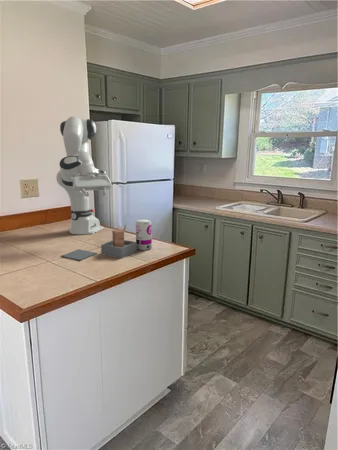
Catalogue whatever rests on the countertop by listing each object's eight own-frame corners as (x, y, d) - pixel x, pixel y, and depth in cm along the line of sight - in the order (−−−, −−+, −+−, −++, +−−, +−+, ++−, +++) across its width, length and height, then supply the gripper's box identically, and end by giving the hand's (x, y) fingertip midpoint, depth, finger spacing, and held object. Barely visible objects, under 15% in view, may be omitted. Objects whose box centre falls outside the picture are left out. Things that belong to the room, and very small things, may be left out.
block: (112, 245, 168) (112, 230, 166) (121, 244, 170) (120, 229, 168) (115, 247, 164) (115, 232, 162) (124, 246, 166) (123, 231, 164)
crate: (116, 248, 176) (116, 238, 175) (136, 252, 171) (136, 242, 169) (101, 255, 166) (101, 244, 164) (121, 259, 160) (121, 248, 158)
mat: (78, 250, 171) (78, 249, 171) (96, 253, 166) (96, 252, 166) (61, 256, 161) (61, 255, 161) (80, 260, 156) (80, 259, 155)
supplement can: (154, 247, 178) (154, 219, 175) (146, 251, 171) (146, 223, 167) (141, 245, 181) (140, 218, 178) (133, 249, 174) (132, 221, 171)
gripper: (70, 171, 172) (77, 192, 166) (108, 171, 182) (115, 190, 176) (68, 179, 176) (75, 200, 170) (105, 178, 187) (112, 197, 181)
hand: (96, 195), depth 173 cm, fingers open, 8 cm apart
